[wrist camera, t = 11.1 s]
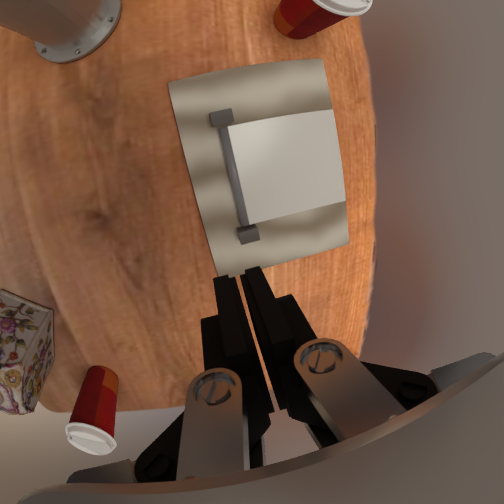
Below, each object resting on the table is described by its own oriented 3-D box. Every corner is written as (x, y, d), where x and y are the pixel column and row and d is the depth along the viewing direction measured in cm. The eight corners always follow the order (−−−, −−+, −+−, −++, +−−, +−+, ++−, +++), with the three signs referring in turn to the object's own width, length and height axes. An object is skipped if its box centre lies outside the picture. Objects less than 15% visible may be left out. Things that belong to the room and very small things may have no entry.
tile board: (168, 84, 29) (165, 80, 26) (318, 60, 31) (328, 55, 28) (219, 276, 40) (221, 287, 37) (345, 240, 42) (355, 249, 39)
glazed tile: (218, 128, 30) (333, 109, 31) (217, 128, 31) (329, 109, 32) (241, 227, 35) (346, 200, 36) (240, 224, 36) (342, 198, 38)
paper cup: (330, 18, 28) (389, -17, 16) (306, 57, 30) (363, 27, 18) (280, -11, 26) (321, -62, 13) (253, 27, 28) (286, -22, 15)
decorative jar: (5, 337, 37) (-33, 405, 21) (-1, 286, 34) (-56, 354, 17) (57, 359, 41) (28, 437, 25) (56, 309, 37) (12, 393, 21)
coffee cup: (79, 380, 44) (62, 444, 30) (86, 354, 41) (65, 423, 28) (119, 396, 46) (110, 461, 33) (130, 372, 44) (120, 443, 31)
